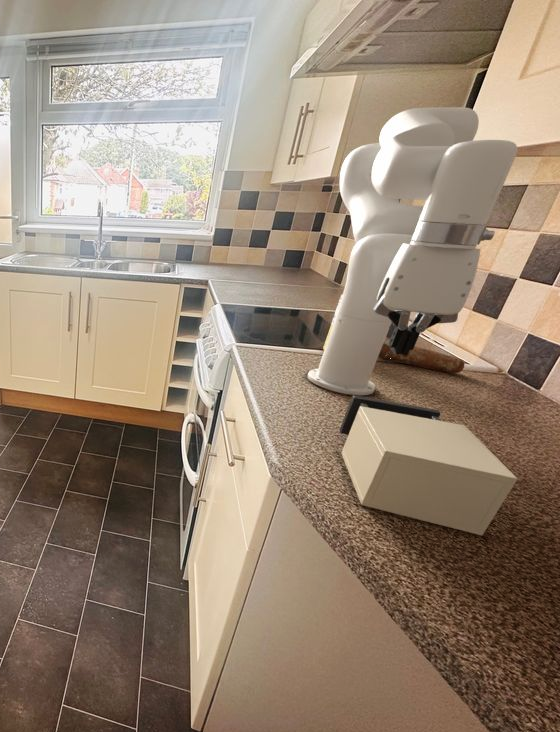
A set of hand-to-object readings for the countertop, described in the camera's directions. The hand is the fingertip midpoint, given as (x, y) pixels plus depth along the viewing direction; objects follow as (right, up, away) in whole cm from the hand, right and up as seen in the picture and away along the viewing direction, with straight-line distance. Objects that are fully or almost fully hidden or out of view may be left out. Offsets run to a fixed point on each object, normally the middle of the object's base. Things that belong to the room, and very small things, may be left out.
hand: (398, 352), depth 69 cm
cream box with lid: (-8, -20, -11) cm, 24 cm away
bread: (+35, 0, +38) cm, 51 cm away
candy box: (+21, +3, +43) cm, 48 cm away
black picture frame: (-5, -16, -3) cm, 17 cm away
